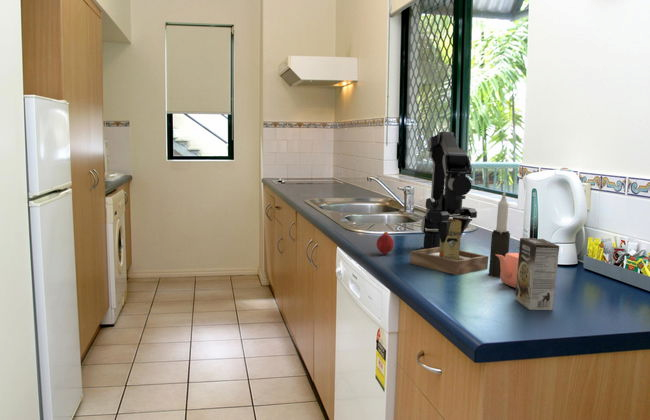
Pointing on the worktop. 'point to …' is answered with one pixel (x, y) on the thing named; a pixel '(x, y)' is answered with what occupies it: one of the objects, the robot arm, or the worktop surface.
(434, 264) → the walnut crate with socket plate
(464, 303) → the worktop surface
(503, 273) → the teapot
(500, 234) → the candle
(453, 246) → the shoe polish box
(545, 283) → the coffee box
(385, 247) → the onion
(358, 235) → the worktop surface
